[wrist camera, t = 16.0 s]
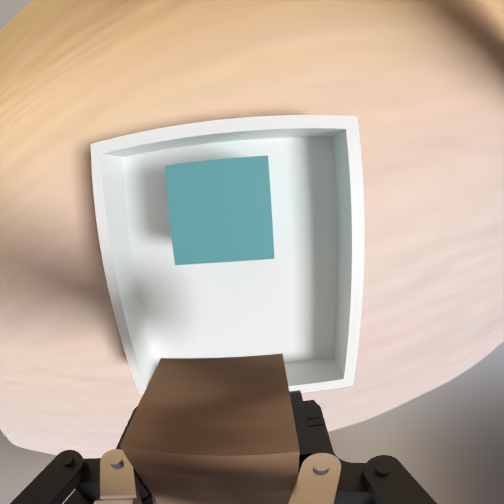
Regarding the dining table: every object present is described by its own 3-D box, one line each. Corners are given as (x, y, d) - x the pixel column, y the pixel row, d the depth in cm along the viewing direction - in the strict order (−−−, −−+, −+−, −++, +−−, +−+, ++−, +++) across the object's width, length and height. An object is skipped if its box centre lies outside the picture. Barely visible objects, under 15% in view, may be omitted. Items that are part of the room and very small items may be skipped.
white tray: (337, 128, 18) (357, 116, 14) (339, 356, 22) (353, 385, 18) (117, 150, 18) (90, 144, 14) (153, 366, 22) (139, 394, 18)
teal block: (263, 164, 18) (267, 155, 13) (268, 240, 19) (274, 258, 14) (187, 170, 18) (164, 165, 13) (194, 245, 19) (174, 265, 14)
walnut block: (282, 353, 11) (299, 451, 6) (284, 432, 12) (294, 515, 7) (160, 358, 11) (119, 445, 6) (185, 434, 12) (167, 512, 7)
